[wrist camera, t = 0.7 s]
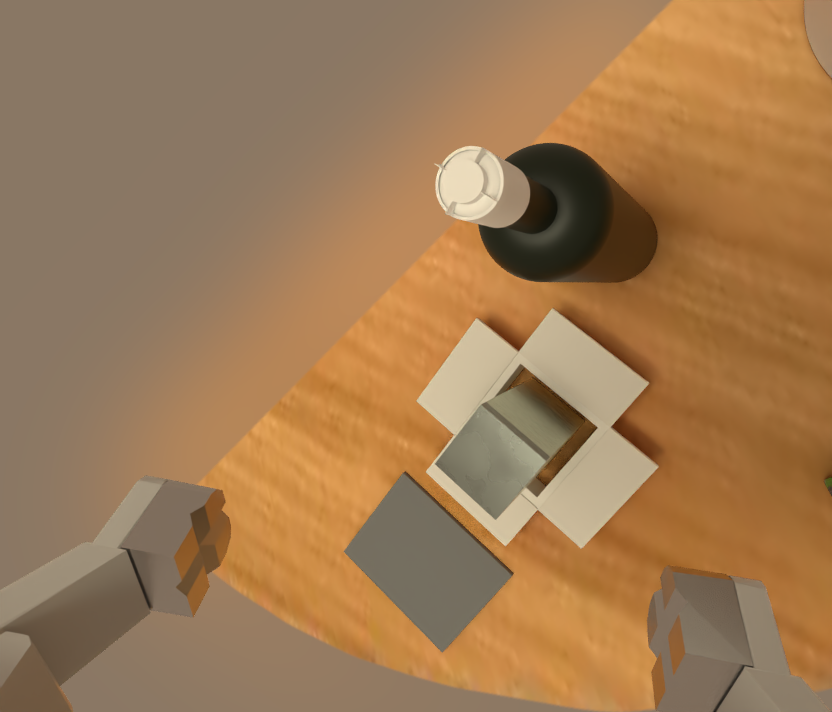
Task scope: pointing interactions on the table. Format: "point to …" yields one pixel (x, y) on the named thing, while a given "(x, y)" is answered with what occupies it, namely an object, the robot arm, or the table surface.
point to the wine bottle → (548, 213)
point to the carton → (579, 386)
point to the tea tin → (508, 444)
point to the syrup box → (829, 484)
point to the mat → (426, 562)
